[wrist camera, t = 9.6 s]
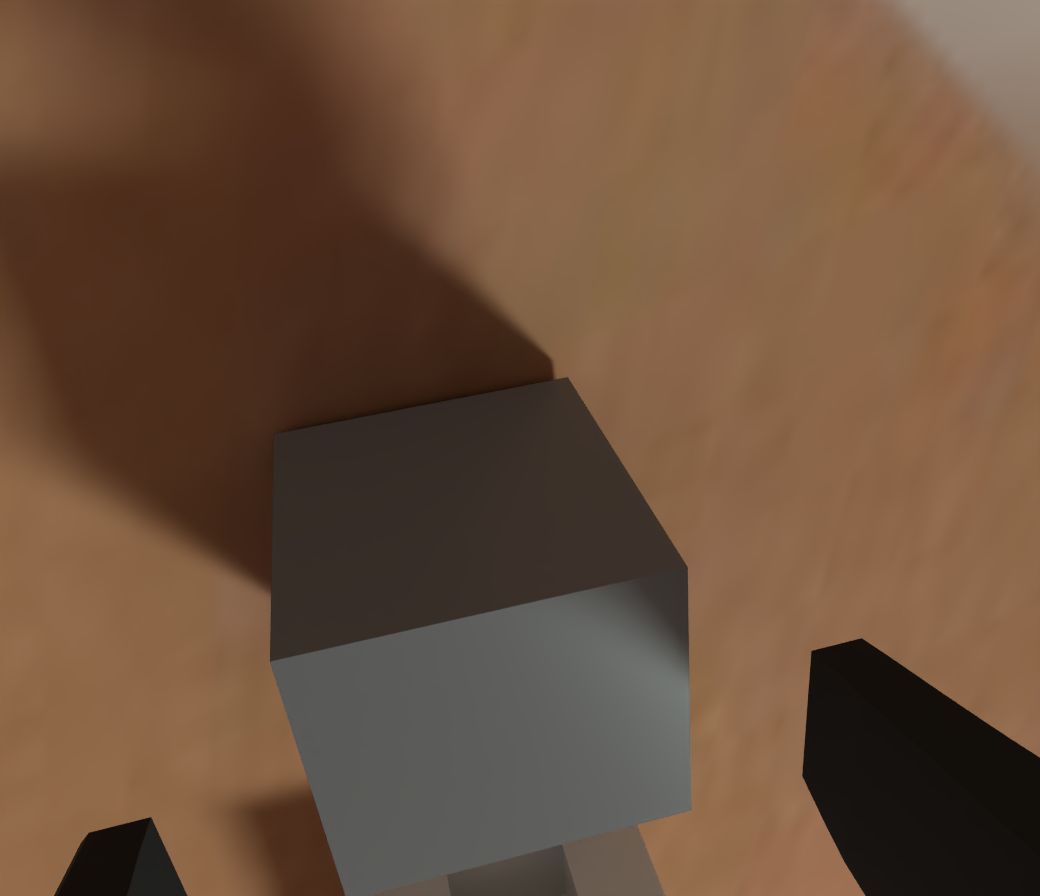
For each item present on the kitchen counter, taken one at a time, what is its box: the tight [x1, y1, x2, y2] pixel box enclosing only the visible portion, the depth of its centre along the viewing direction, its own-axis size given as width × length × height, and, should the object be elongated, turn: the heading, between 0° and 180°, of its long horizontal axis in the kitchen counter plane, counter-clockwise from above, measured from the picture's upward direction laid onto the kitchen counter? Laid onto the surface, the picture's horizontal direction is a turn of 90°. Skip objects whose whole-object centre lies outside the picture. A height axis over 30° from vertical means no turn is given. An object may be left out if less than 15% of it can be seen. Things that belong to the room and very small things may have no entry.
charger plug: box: [270, 377, 691, 896], centre depth 13 cm, size 6×4×5 cm
